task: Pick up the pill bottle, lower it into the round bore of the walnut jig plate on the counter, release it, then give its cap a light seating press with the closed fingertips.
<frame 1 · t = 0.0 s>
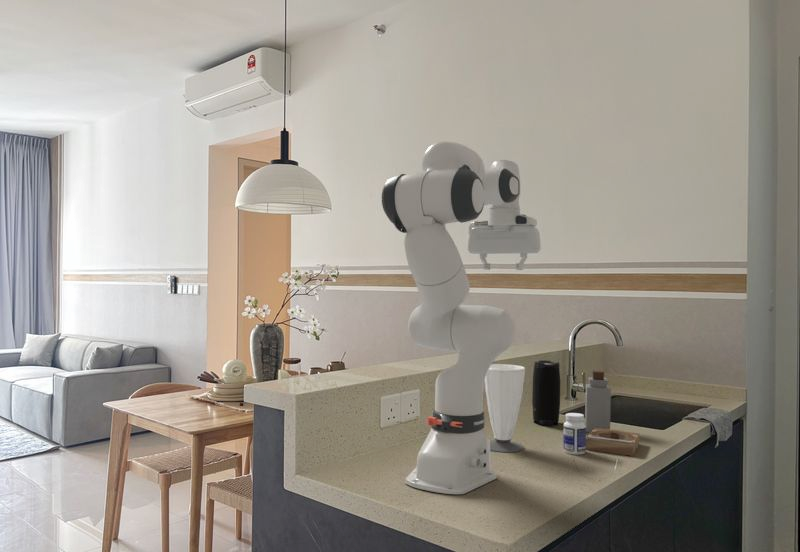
hand: (502, 269, 167), 48 cm above the counter, fingers open, 8 cm apart
cup: (502, 447, 163), on the counter
jig: (612, 446, 165), on the counter
portable speaker: (545, 423, 191), on the counter
perfume bottle: (597, 431, 183), on the counter
pill bottle: (574, 452, 159), on the counter
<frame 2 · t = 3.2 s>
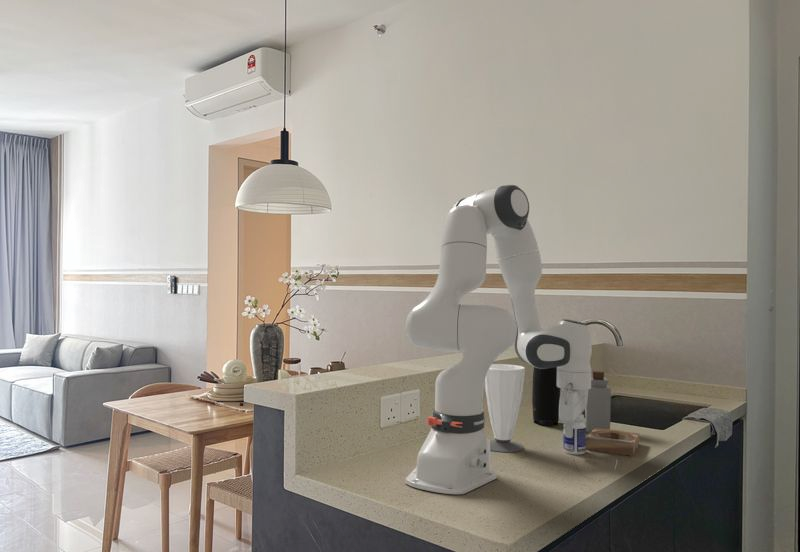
hand: (572, 432, 160), 5 cm above the counter, fingers open, 8 cm apart
nothing on the counter moved.
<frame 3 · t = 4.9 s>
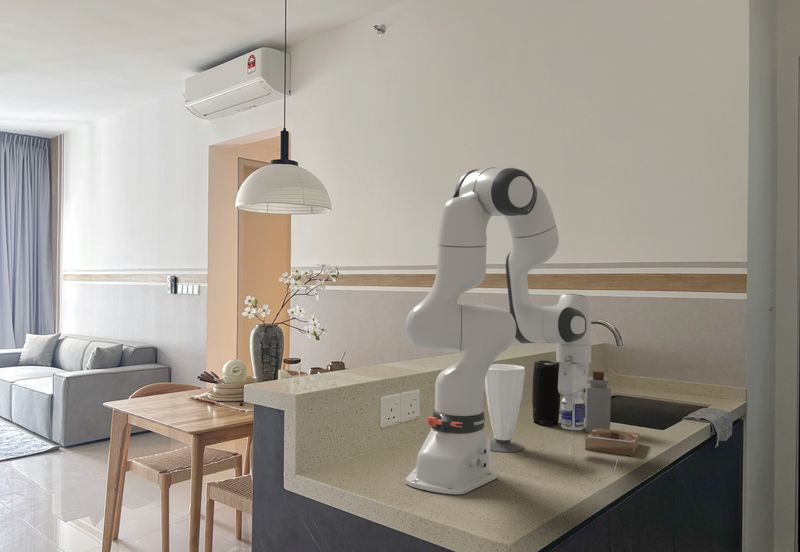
hand: (572, 408, 158), 12 cm above the counter, fingers closed on pill bottle, 6 cm apart
pill bottle: (572, 429, 158), point 6 cm above the counter, touching gripper
everything else where it was.
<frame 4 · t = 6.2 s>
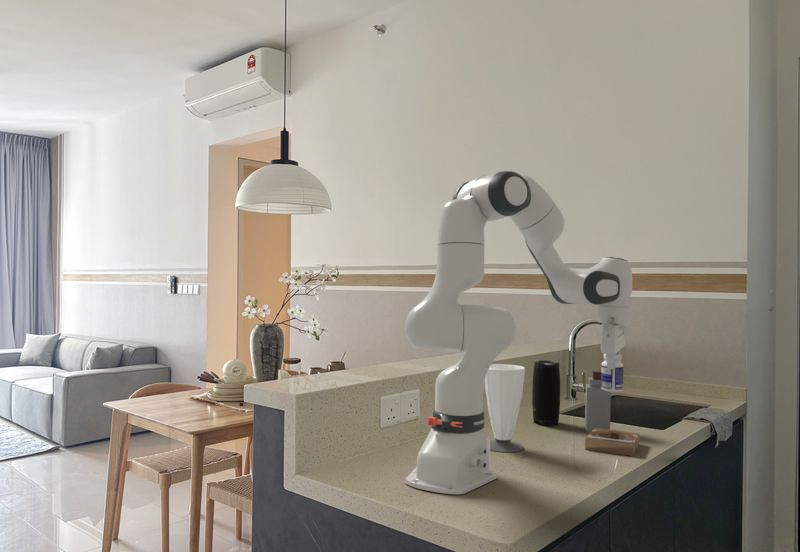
hand: (612, 366, 165), 22 cm above the counter, fingers closed on pill bottle, 6 cm apart
pill bottle: (611, 390, 165), point 15 cm above the counter, touching gripper
everything else where it was.
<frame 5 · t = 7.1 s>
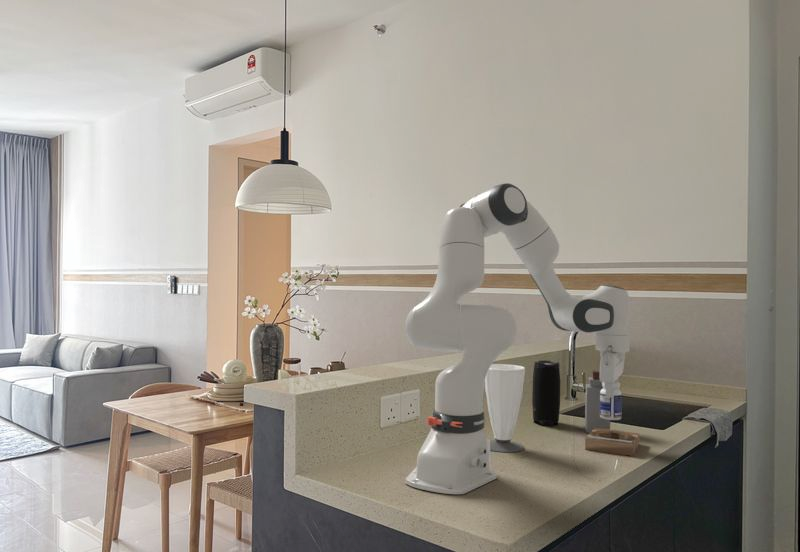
hand: (611, 394, 166), 14 cm above the counter, fingers closed on pill bottle, 6 cm apart
pill bottle: (610, 418, 166), point 7 cm above the counter, touching gripper
everything else where it was.
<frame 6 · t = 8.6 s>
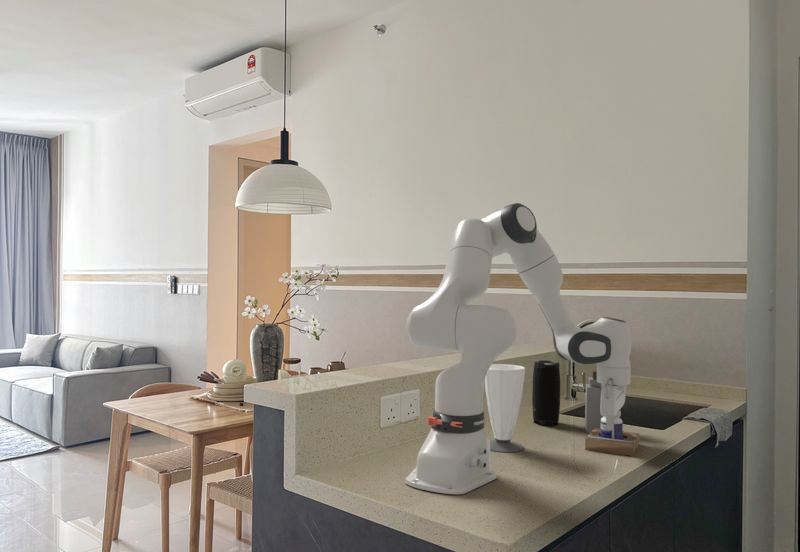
hand: (612, 426, 165), 5 cm above the counter, fingers closed on pill bottle, 5 cm apart
pill bottle: (611, 447, 165), resting in jig, touching gripper
everything else where it was.
when the fingers open (5 cm above the counter, at t = 9.0 s): pill bottle stays where it is, resting in jig.
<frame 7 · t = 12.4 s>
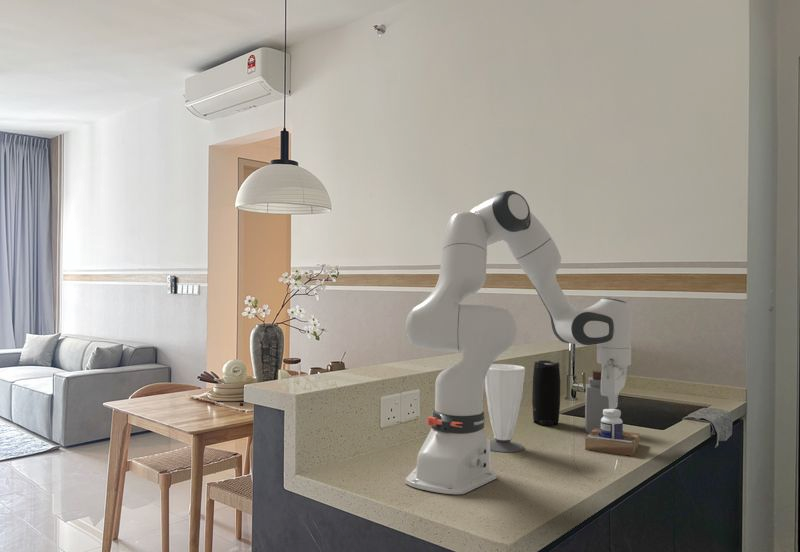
hand: (613, 408, 165), 11 cm above the counter, fingers closed
pill bottle: (611, 447, 165), resting in jig
everything else where it was.
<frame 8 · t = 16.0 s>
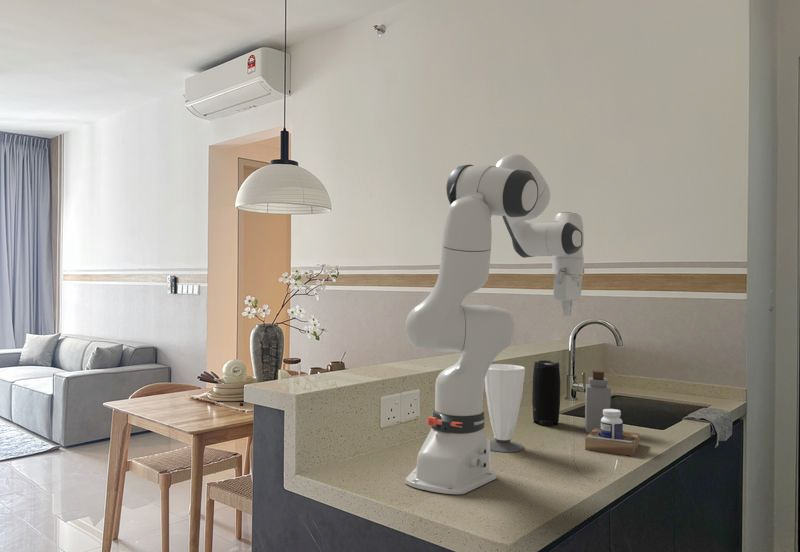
hand: (567, 315, 176), 35 cm above the counter, fingers closed
nothing on the counter moved.
at the end: pill bottle 0.4 cm off-centre on the jig, point 0.0 cm above the jig's base; pill bottle tilted 0°; the gripper is holding nothing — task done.
